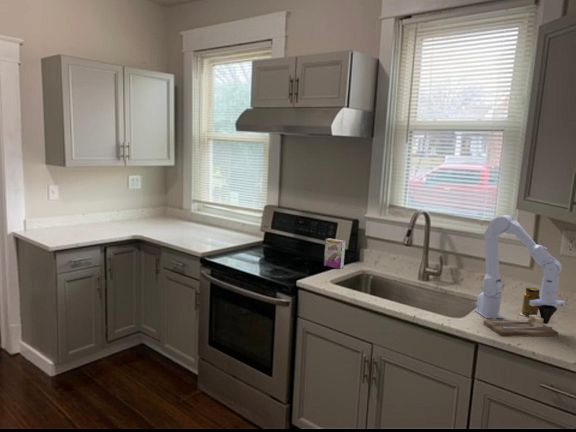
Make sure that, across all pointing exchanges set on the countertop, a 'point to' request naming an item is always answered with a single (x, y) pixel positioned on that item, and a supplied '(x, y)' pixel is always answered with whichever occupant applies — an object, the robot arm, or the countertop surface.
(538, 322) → the fader tab
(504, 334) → the console
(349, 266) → the countertop surface
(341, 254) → the candy bar box
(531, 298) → the condiment
